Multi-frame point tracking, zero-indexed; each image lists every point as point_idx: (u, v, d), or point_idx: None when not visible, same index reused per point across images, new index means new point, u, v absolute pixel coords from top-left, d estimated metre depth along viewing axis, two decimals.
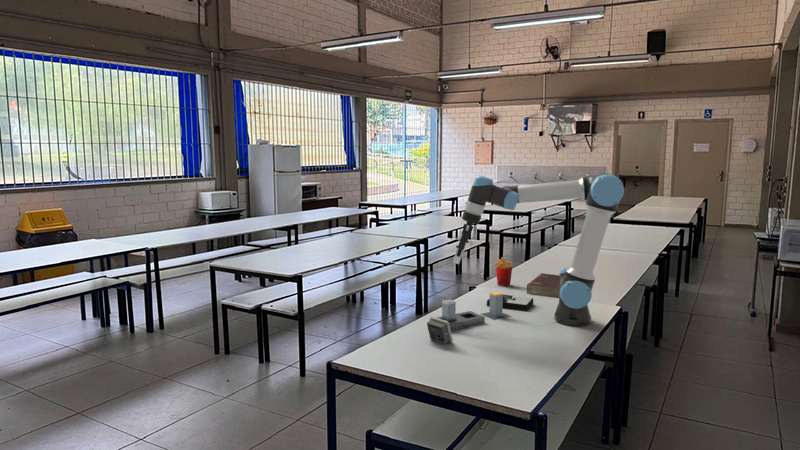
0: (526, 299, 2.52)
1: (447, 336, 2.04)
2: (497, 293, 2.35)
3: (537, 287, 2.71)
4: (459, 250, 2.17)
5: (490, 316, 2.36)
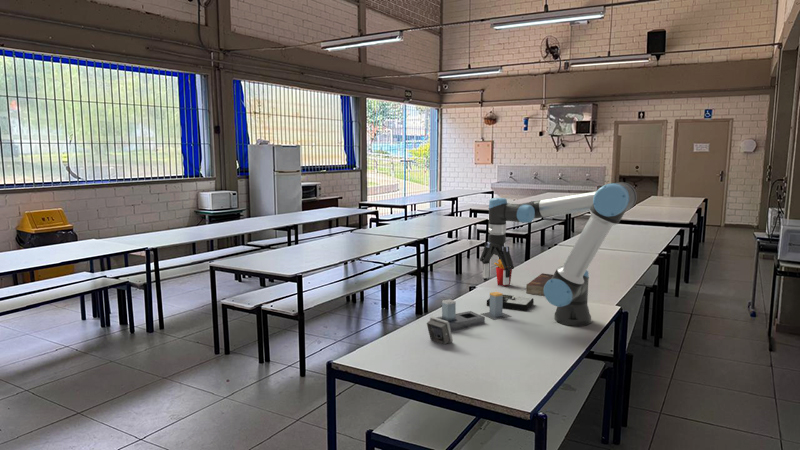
0: (526, 299, 2.52)
1: (447, 336, 2.04)
2: (497, 293, 2.35)
3: (537, 287, 2.72)
4: (508, 271, 2.28)
5: (490, 316, 2.36)
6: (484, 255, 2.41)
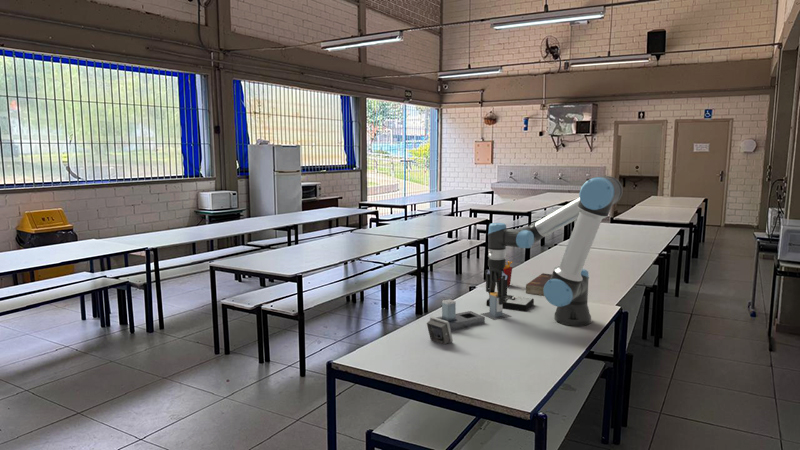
0: (526, 299, 2.52)
1: (447, 336, 2.04)
2: (497, 293, 2.35)
3: (536, 287, 2.72)
4: (501, 299, 2.33)
5: (490, 316, 2.36)
6: (488, 284, 2.40)
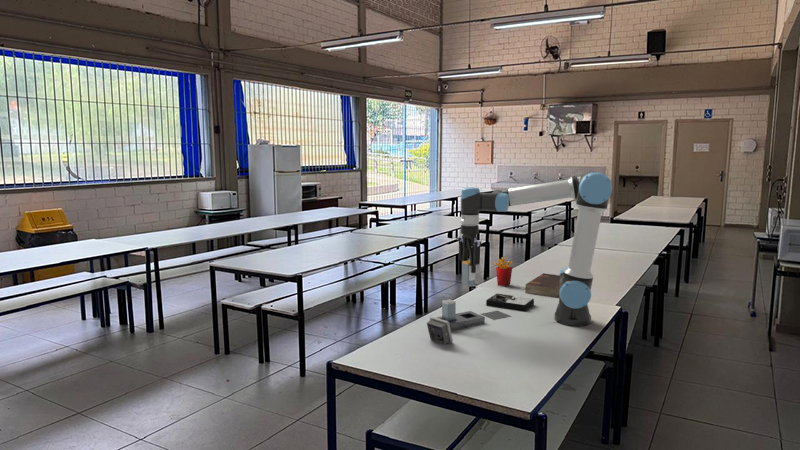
0: (526, 299, 2.52)
1: (447, 336, 2.04)
2: None
3: (535, 287, 2.72)
4: (474, 267, 2.23)
5: (490, 316, 2.36)
6: (461, 252, 2.29)
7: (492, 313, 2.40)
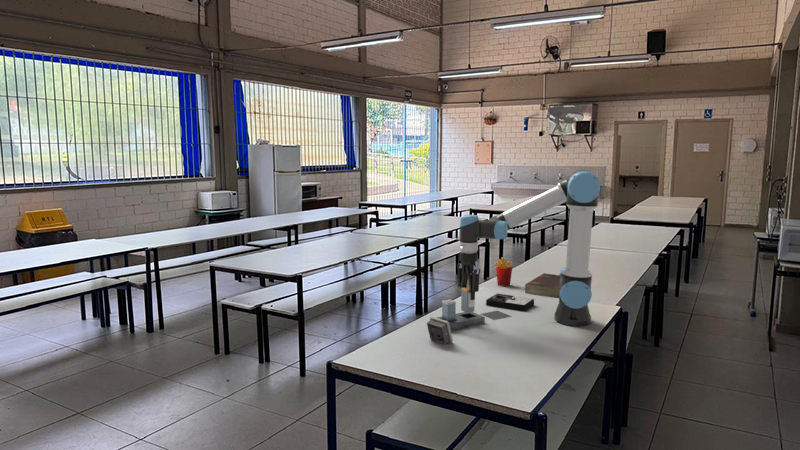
0: (526, 299, 2.52)
1: (447, 336, 2.04)
2: None
3: (535, 287, 2.72)
4: (473, 294, 2.24)
5: (490, 316, 2.36)
6: (460, 278, 2.30)
7: (492, 313, 2.40)
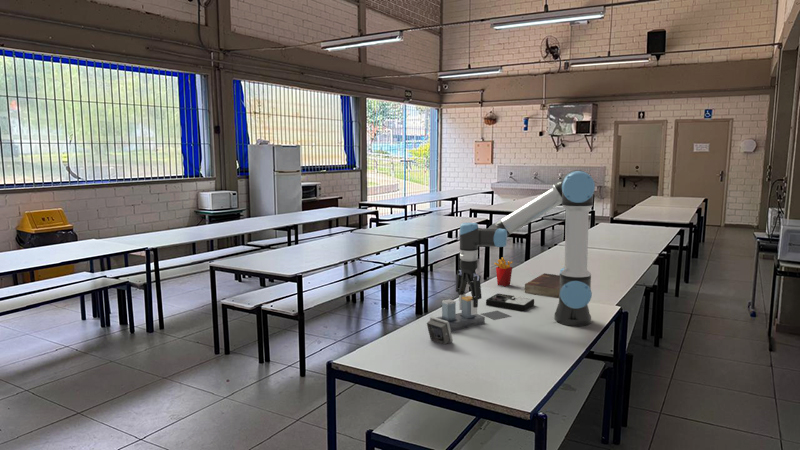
0: (526, 299, 2.51)
1: (447, 336, 2.04)
2: (469, 298, 2.27)
3: (535, 287, 2.72)
4: (476, 301, 2.23)
5: (490, 316, 2.36)
6: (459, 284, 2.32)
7: (492, 313, 2.40)
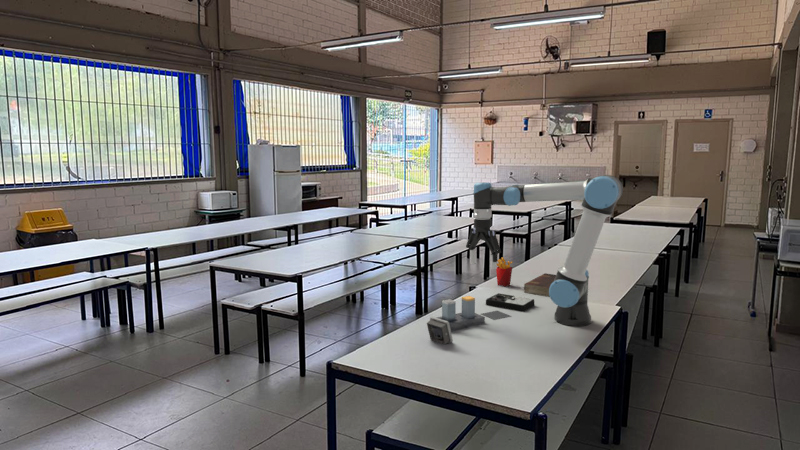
0: (526, 299, 2.51)
1: (447, 336, 2.04)
2: (469, 298, 2.27)
3: (534, 286, 2.73)
4: (495, 256, 2.26)
5: (490, 316, 2.36)
6: (470, 241, 2.38)
7: (492, 313, 2.40)
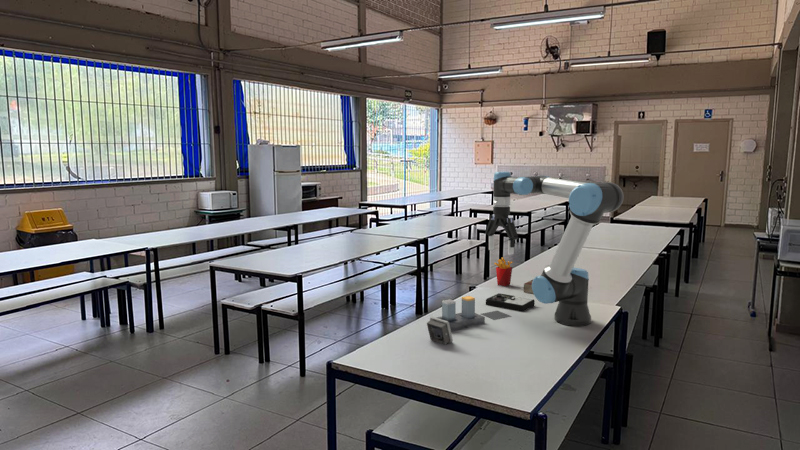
0: (526, 300, 2.51)
1: (447, 336, 2.04)
2: (469, 298, 2.27)
3: None
4: (513, 241, 2.37)
5: (490, 316, 2.36)
6: (489, 228, 2.50)
7: (492, 313, 2.40)
